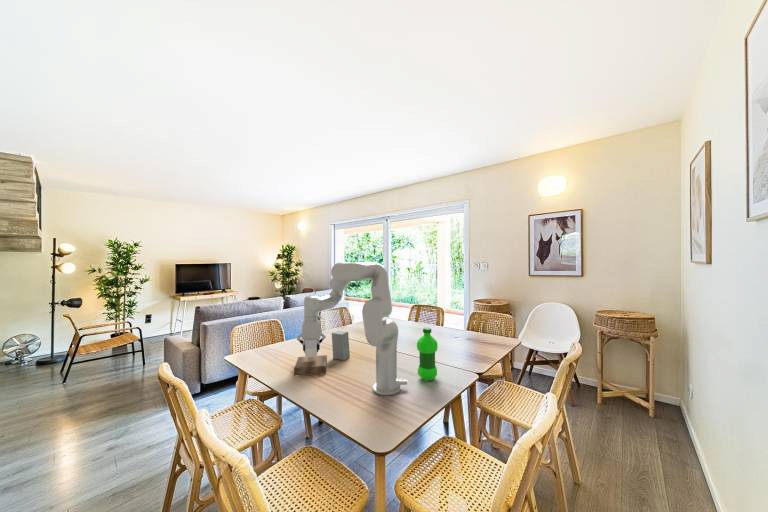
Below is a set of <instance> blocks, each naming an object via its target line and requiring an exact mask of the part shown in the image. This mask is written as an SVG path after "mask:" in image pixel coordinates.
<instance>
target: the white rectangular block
mask: <svg viewBox="0 0 768 512" xmlns="http://www.w3.org/2000/svg"><path fill="white" fill-rule="evenodd" d="M317 356H318V352H317V339H315V340H305V353H304V357H317Z"/></svg>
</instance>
